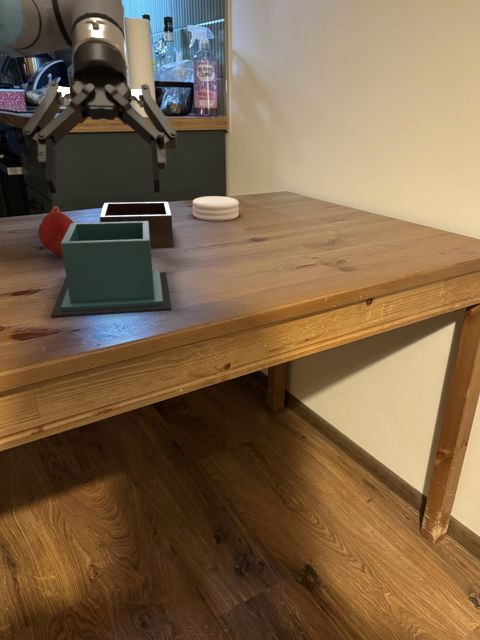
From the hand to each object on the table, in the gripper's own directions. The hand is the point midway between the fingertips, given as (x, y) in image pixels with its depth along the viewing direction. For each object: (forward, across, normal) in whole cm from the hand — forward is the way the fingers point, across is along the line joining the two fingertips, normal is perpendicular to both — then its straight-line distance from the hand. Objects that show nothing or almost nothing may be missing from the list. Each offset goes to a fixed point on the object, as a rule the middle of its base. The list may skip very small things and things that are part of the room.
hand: (105, 187), depth 67 cm
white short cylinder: (-17, +20, +35) cm, 44 cm away
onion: (+1, -9, +17) cm, 19 cm away
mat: (+14, 0, +4) cm, 15 cm away
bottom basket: (-5, +3, +22) cm, 23 cm away
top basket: (+14, 0, +3) cm, 14 cm away
